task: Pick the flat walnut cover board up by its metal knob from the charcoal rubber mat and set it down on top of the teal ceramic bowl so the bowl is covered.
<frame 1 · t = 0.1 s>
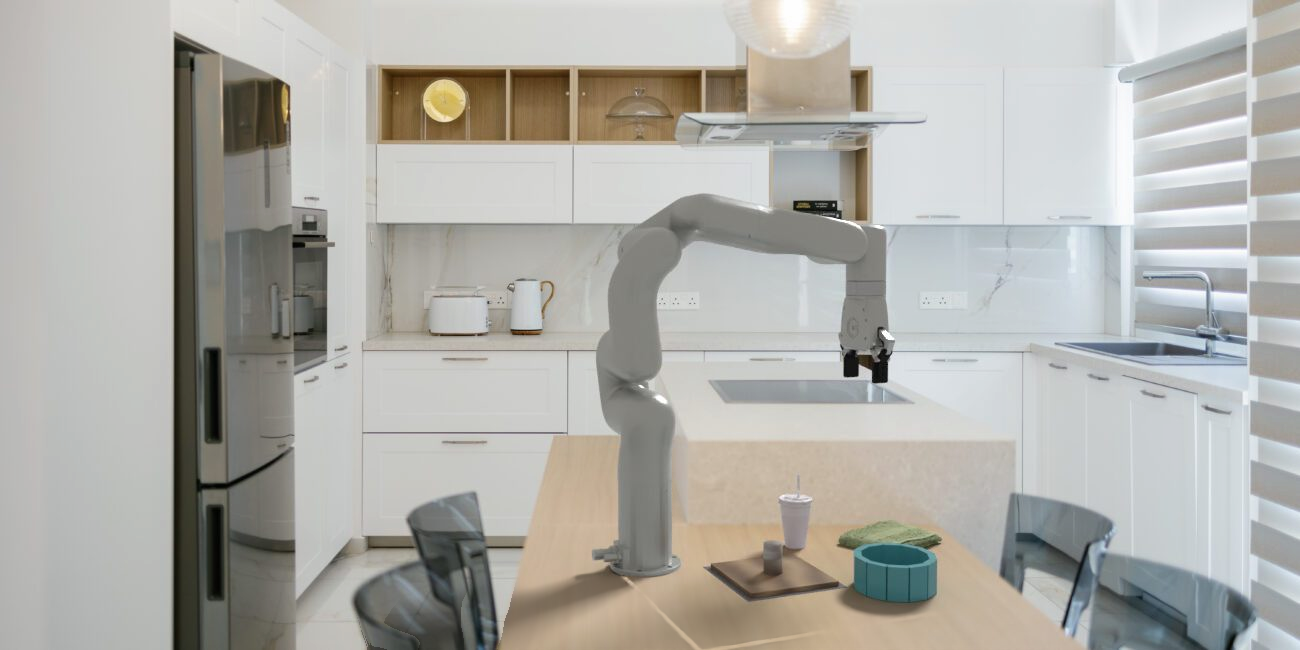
hand: (865, 379, 181), 31 cm above the table, fingers open, 9 cm apart
washcloth: (889, 547, 180), on the table
cover: (772, 576, 161), resting on mat
mat: (772, 579, 161), on the table
bowl: (894, 590, 155), on the table
smoothie: (795, 549, 178), on the table
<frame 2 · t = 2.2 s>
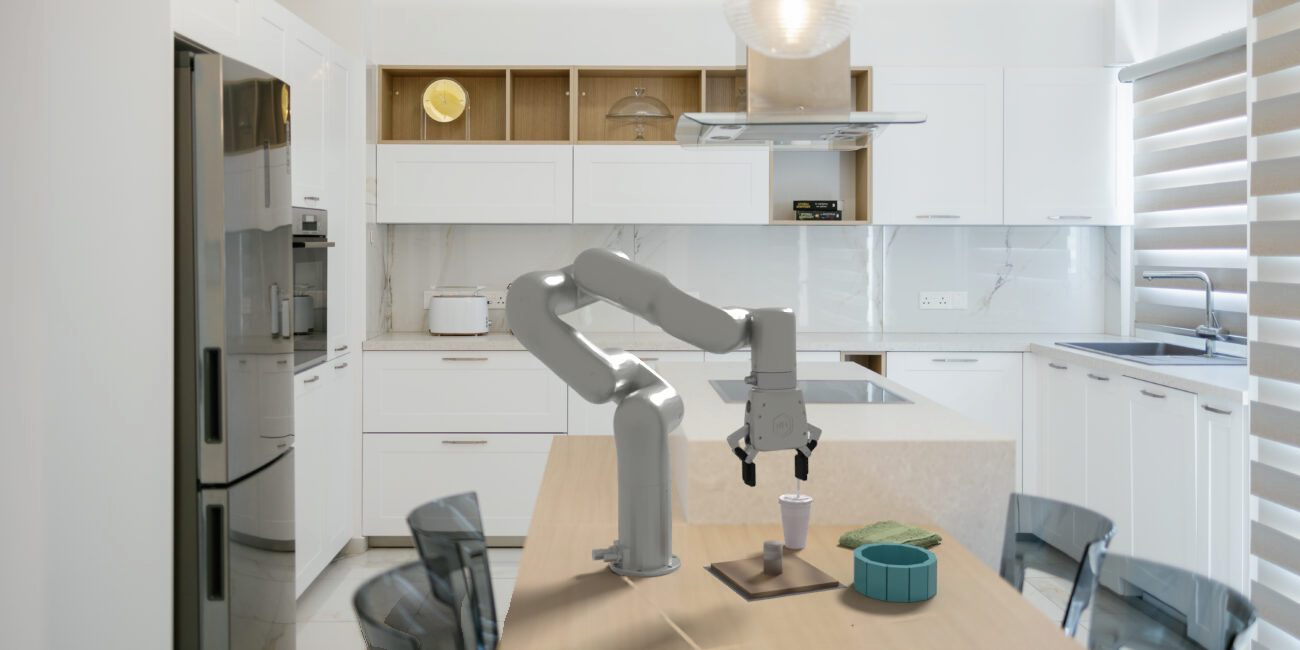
hand: (775, 482, 159), 17 cm above the table, fingers open, 9 cm apart
nothing on the table moved.
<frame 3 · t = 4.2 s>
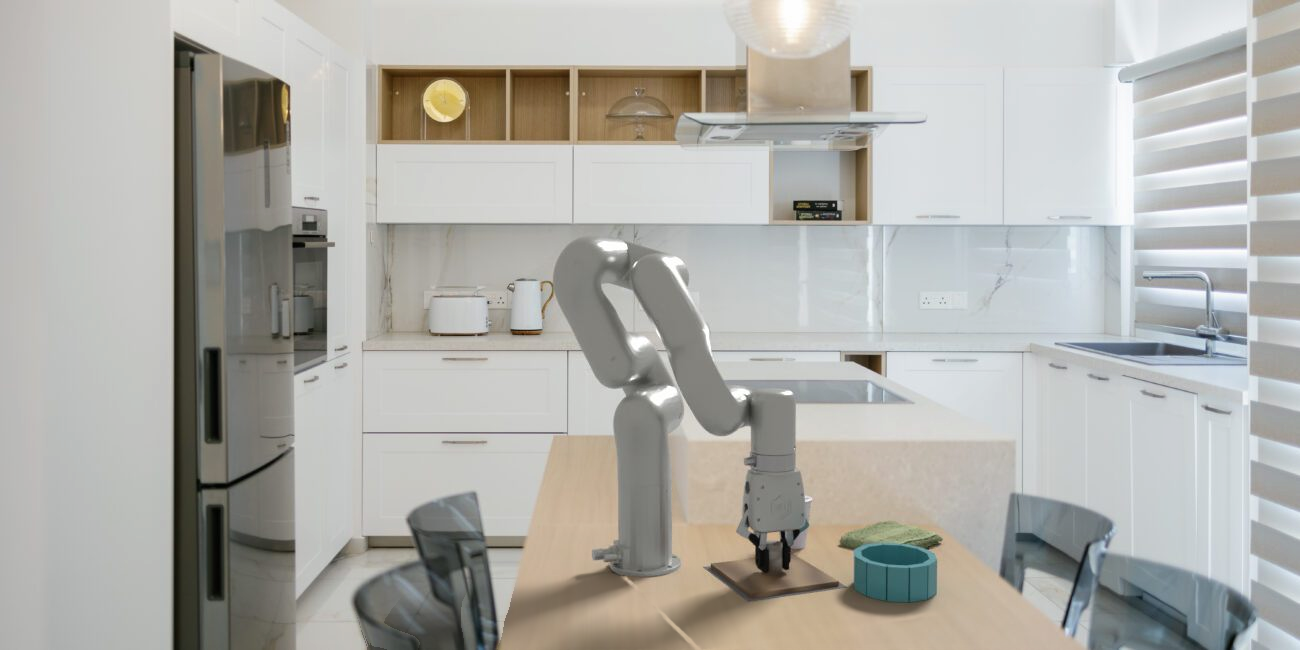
hand: (773, 567, 161), 2 cm above the table, fingers closed on cover, 3 cm apart
cover: (772, 576, 161), resting on mat, touching gripper
everything else where it was.
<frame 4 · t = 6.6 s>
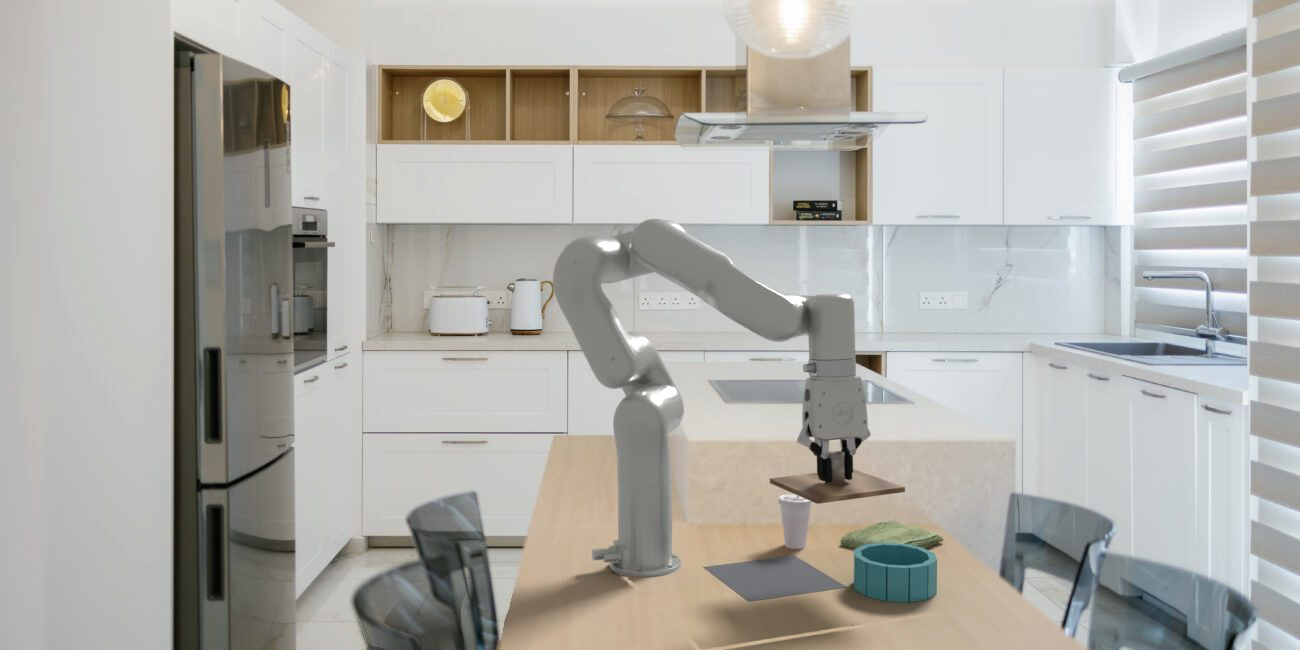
hand: (835, 478, 156), 18 cm above the table, fingers closed on cover, 3 cm apart
cover: (835, 487, 157), point 17 cm above the table, touching gripper
everything else where it was.
when the fingers open (9 cm above the table, at t = 9.0 s): cover drops 1 cm, resting on bowl.
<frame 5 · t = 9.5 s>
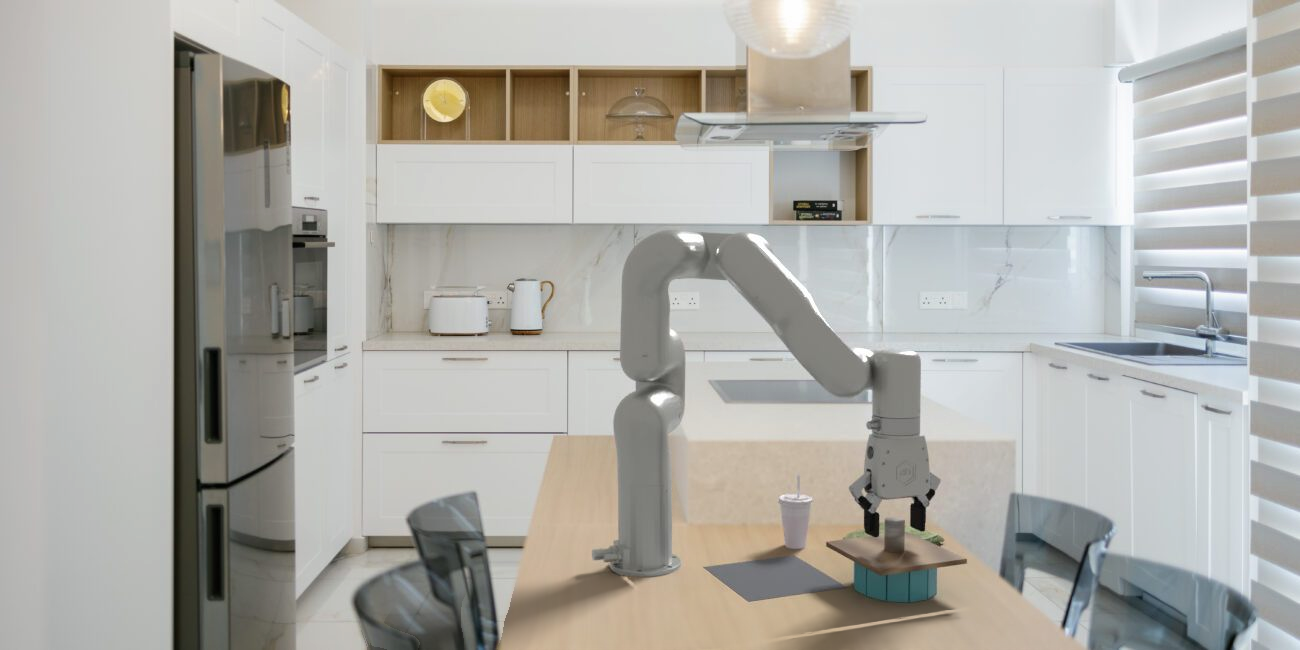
hand: (894, 531, 154), 10 cm above the table, fingers open, 8 cm apart
cover: (894, 554, 154), point 6 cm above the table, touching bowl
everything else where it was.
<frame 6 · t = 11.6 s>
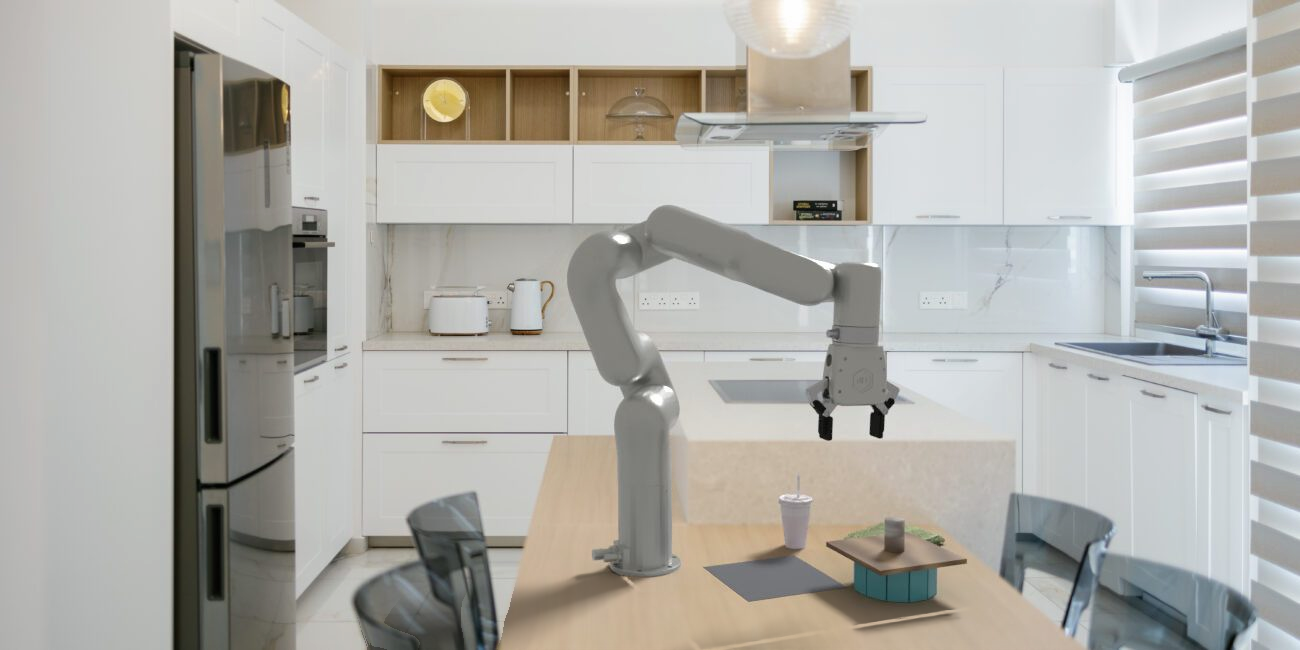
hand: (851, 438, 159), 24 cm above the table, fingers open, 9 cm apart
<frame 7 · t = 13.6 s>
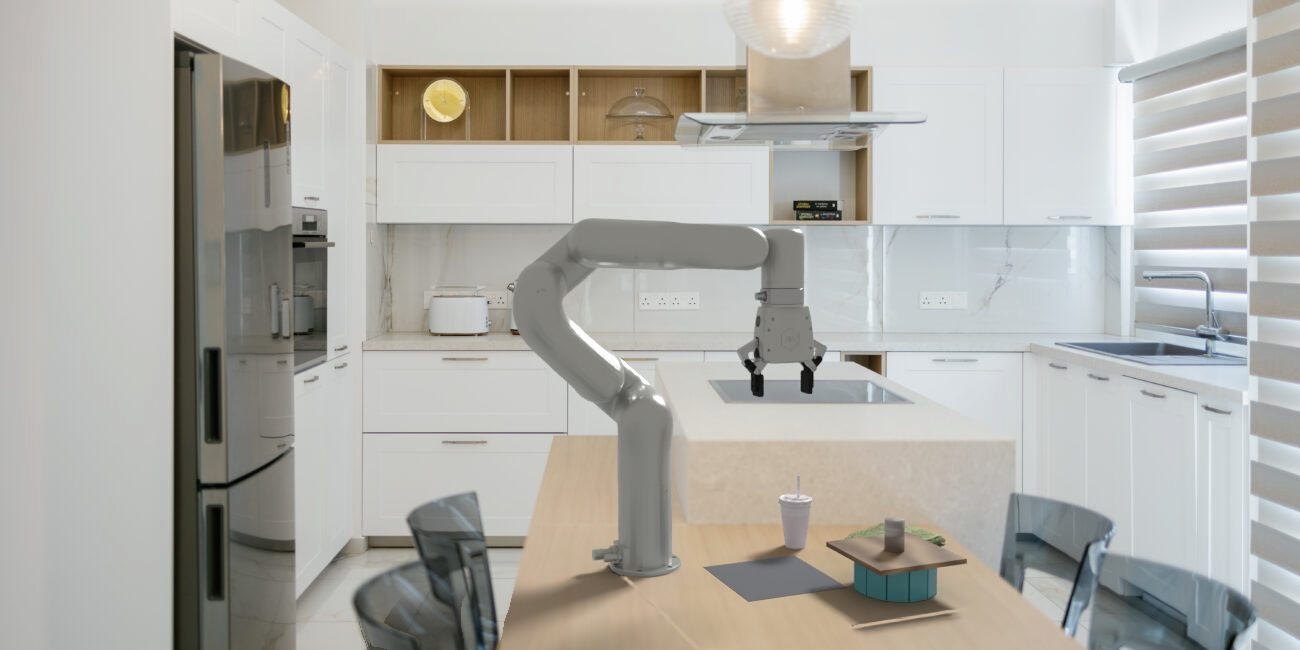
hand: (782, 394, 168), 30 cm above the table, fingers open, 9 cm apart
at the end: cover 0.1 cm off-centre on the bowl, point 6.0 cm above the bowl's base; cover tilted 0°; the gripper is holding nothing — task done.
